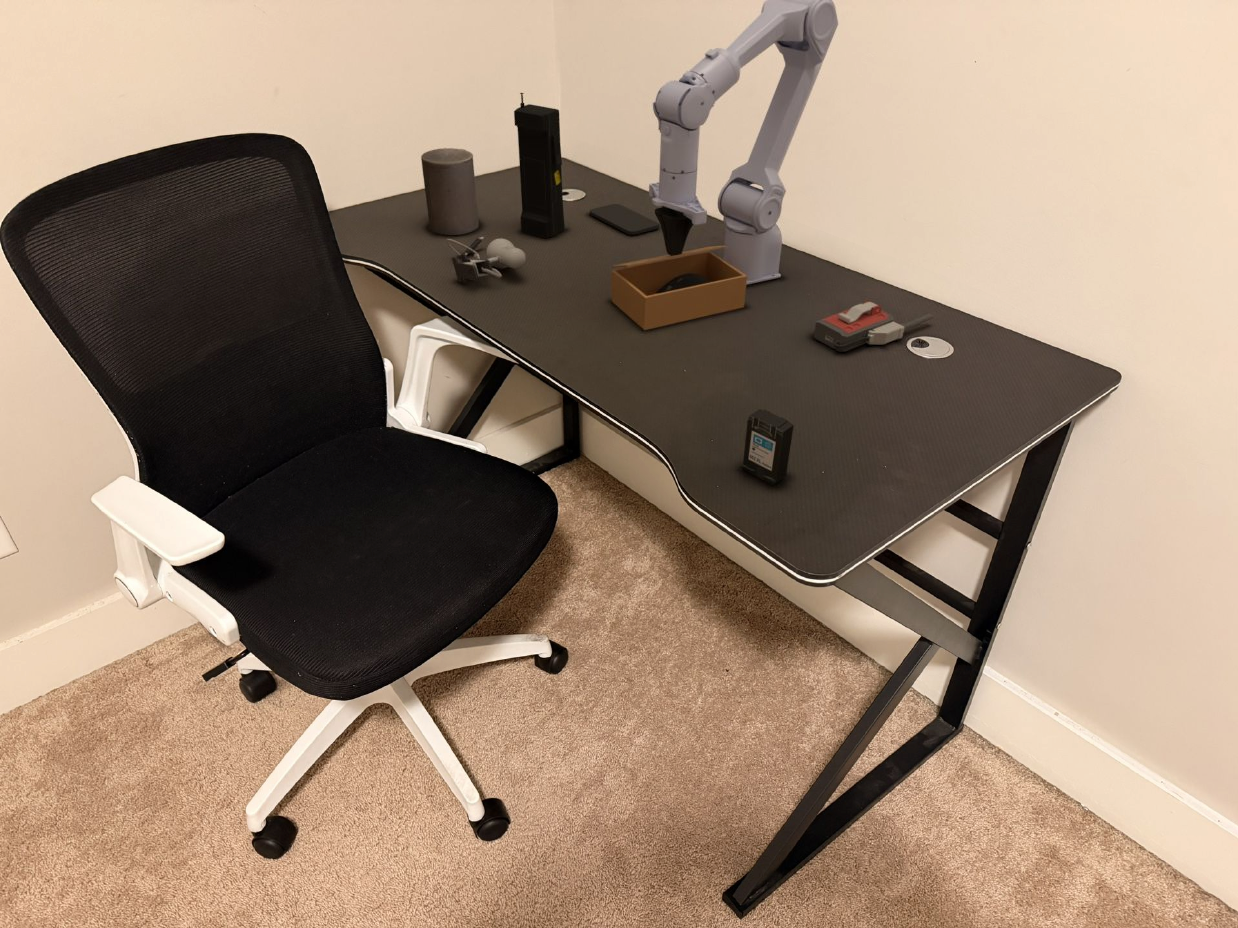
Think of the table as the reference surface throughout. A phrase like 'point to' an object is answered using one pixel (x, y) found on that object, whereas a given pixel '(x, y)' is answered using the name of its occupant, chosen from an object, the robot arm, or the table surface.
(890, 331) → the walkie-talkie
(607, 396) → the table surface
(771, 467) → the ink cartridge
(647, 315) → the carton
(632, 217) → the phone
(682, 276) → the gaming mouse
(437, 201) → the pillar candle
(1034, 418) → the table surface
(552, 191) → the portable radio
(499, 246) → the clip-on lamp
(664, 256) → the flap
